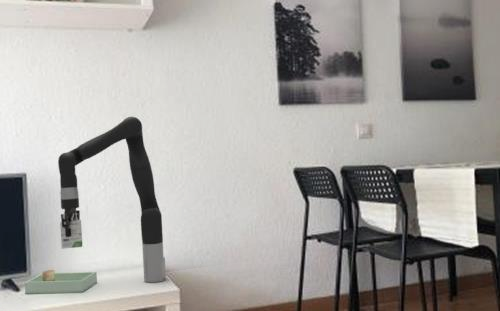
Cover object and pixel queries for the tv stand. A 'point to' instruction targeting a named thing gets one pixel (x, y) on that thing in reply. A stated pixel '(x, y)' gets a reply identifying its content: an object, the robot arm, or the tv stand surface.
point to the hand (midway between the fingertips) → (71, 235)
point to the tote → (62, 283)
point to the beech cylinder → (48, 275)
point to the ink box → (72, 235)
